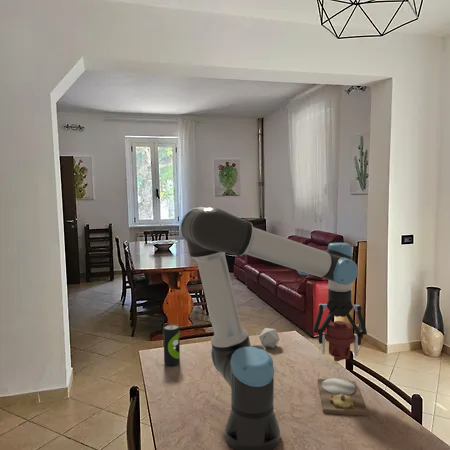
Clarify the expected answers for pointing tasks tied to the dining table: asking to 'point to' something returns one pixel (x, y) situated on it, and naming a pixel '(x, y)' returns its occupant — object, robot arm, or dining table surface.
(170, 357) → the beverage can
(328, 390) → the gear board
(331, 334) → the mechanical component
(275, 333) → the die
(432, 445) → the dining table surface
